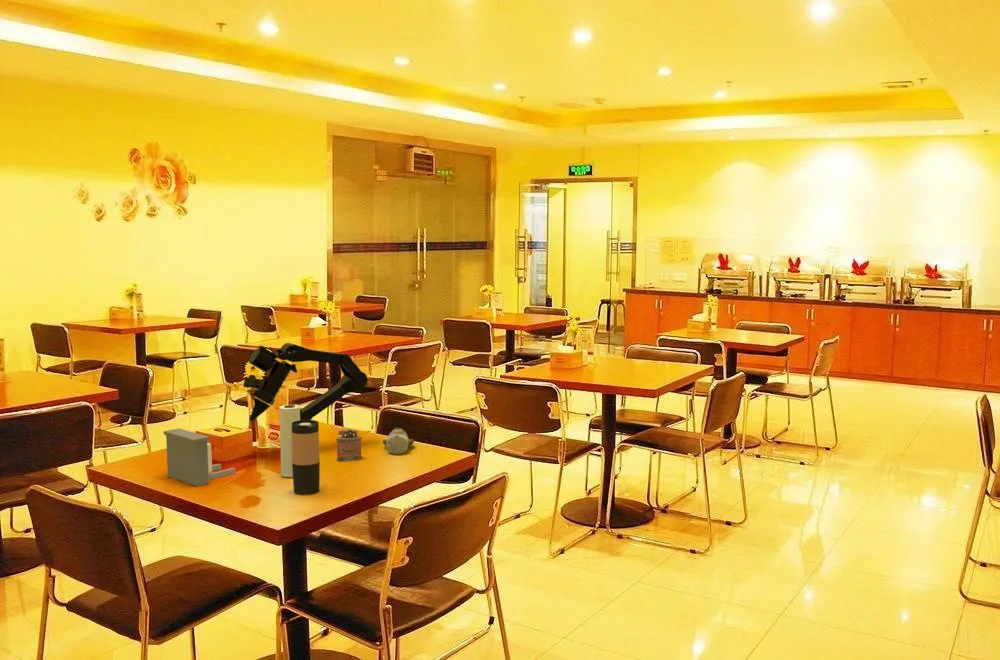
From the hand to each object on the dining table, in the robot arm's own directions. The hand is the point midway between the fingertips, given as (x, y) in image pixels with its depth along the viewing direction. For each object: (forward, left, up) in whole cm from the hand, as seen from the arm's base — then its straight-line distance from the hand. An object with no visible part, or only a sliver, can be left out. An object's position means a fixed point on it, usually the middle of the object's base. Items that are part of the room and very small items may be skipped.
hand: (250, 420), depth 279 cm
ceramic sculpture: (-46, -13, -14) cm, 50 cm away
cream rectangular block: (+10, +19, -13) cm, 25 cm away
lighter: (-31, -1, -13) cm, 34 cm away
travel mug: (-25, +34, -13) cm, 44 cm away
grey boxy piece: (+9, +18, -13) cm, 24 cm away
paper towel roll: (-17, +17, -13) cm, 27 cm away
